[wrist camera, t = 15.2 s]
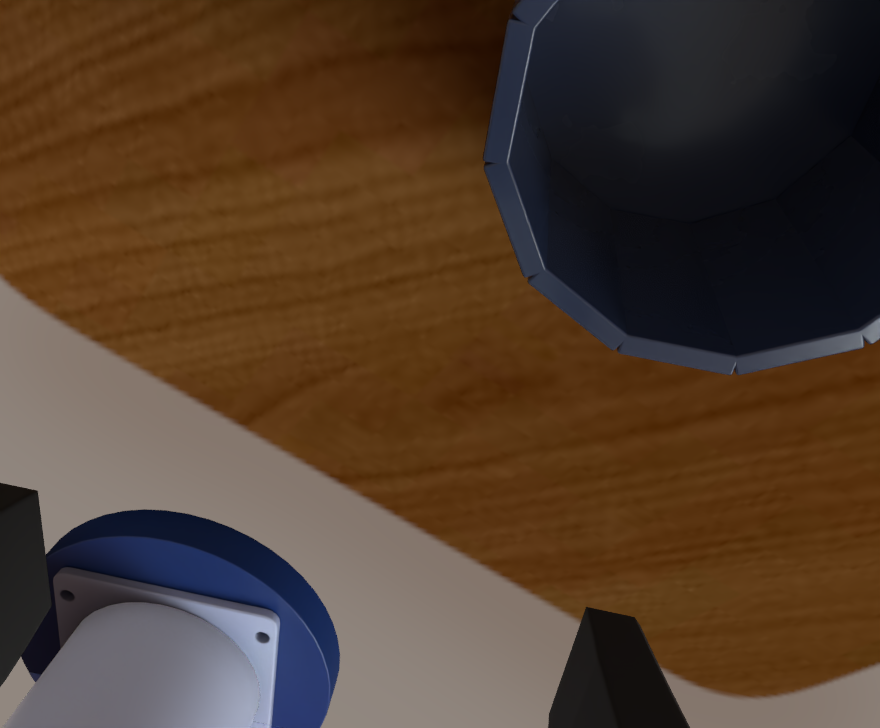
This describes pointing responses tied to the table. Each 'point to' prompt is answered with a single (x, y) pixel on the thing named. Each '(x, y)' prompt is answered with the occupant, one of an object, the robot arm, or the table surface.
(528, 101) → the pot
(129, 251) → the table surface
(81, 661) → the robot arm
